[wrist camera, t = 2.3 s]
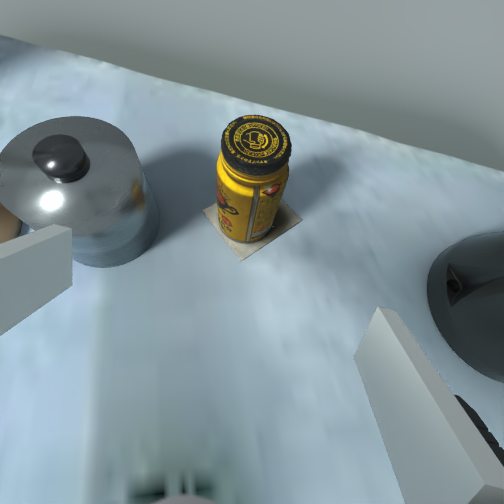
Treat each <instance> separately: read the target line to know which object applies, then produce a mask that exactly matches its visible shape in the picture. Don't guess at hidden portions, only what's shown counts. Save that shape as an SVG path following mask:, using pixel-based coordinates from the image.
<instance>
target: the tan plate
mask: <svg viewBox="0 0 504 504" xmlns="http://www.w3.org/2000/svg"><path fill="white" fill-rule="evenodd" d="M21 225H22V220H20V219H19V218H18V217H16V216H15V215H14V214H12V213H11V212H10V211H8V210H7V209H6V208H5V207H4V206H3V205H2V203H1V202H0V244H1V243H4V242H7V241H10V240H12V239H15V238H18V235H19V232H20V229H21Z"/></svg>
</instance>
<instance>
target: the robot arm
mask: <svg viewBox="0 0 504 504" xmlns="http://www.w3.org/2000/svg"><path fill="white" fill-rule="evenodd" d="M71 286H72V228H68V227H64V226H60V225H56V224H53V225H50V226H47V227H45V228H42V229H39V230H37V231H34V232H31V233H28V234H26V235H23V236H20V237H18V238H15V239H12V240H10V241H7V242H4V243H1V244H0V336H1V335H2V334H4V333H5V332H7V331H8V330H9V329H11V328H12V327H14V326H15V325H17V324H18V323H19V322H21V321H22V320H24V319H25V318H27V317H28V316H29V315H31V314H32V313H34V312H35V311H37V310H38V309H39V308H41V307H42V306H44V305H45V304H47V303H48V302H49V301H51V300H52V299H54V298H55V297H57V296H58V295H59V294H61V293H62V292H64V291H65V290H67V289H68V288H69V287H71ZM427 294H428V302H429V306H430V310H431V313H432V316H433V318H434V321H435V323H436V325H437V327H438V329H439V331H440V333H441V334H442V336H443V337H444V339H445V340H446V342H447V343H448V344H449V346H450V347H451V348H452V349H453V350H454V351H455V353H456V354H457V355H458V356H459V357H460V358H461V359H463V360H464V361H465V362H466V363H467V364H468V365H470V366H471V367H472V368H474V369H475V370H477V371H478V372H480V373H482V374H483V375H485V376H487V377H489V378H492V379H494V380H497V381H500V382H503V383H504V232H498V233H491V234H484V235H479V236H474V237H471V238H468V239H465V240H463V241H461V242H459V243H457V244H455V245H453V246H451V247H449V248H448V249H446V250H445V251H443V252H442V253H441V254H440V255H439V256H438V257H437V258H436V260H435V261H434V263H433V265H432V267H431V269H430V272H429V276H428V282H427ZM354 359H355V361H356V364H357V367H358V370H359V373H360V376H361V378H362V381H363V384H364V387H365V390H366V393H367V396H368V398H369V401H370V404H371V407H372V410H373V413H374V416H375V418H376V421H377V424H378V427H379V430H380V433H381V436H382V438H383V441H384V444H385V447H386V450H387V453H388V456H389V458H390V461H391V464H392V467H393V470H394V473H395V476H396V478H397V481H398V484H399V487H400V490H401V493H402V496H403V498H404V501H405V504H504V450H503V448H502V447H499V443H498V442H497V440H496V439H495V438H494V436H493V435H492V433H491V432H488V428H487V427H486V425H485V424H484V422H483V421H482V420H481V418H480V417H479V416H478V414H477V413H476V412H475V411H474V410H473V409H472V408H471V407H470V406H469V405H468V404H467V403H466V402H465V401H464V400H463V399H462V398H461V397H460V396H458V395H454V394H453V393H452V392H451V390H450V389H449V387H448V386H447V384H446V383H445V381H444V380H443V379H442V377H441V376H440V374H439V373H438V371H437V370H436V368H435V367H434V366H433V364H432V363H431V361H430V360H429V358H428V357H427V355H426V354H425V353H424V351H423V350H422V348H421V347H420V345H419V344H418V342H417V341H416V340H415V338H414V337H413V335H412V334H411V332H410V331H409V329H408V328H407V327H406V325H405V324H404V322H403V321H402V319H401V318H400V316H399V315H398V313H397V312H396V311H395V310H391V309H387V308H383V307H379V306H378V307H377V309H376V311H375V313H374V315H373V317H372V319H371V321H370V323H369V326H368V328H367V330H366V332H365V334H364V336H363V338H362V340H361V342H360V344H359V347H358V349H357V351H356V353H355V355H354Z"/></svg>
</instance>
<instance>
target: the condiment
mask: <svg viewBox="0 0 504 504" xmlns="http://www.w3.org/2000/svg"><path fill="white" fill-rule="evenodd" d="M291 146H292V145H291V142H290V137H289V134H288V132H287V131H286V130H285V129H284V128H283V127H282V125H281V124H279V123H278V122H276V121H275V120H273V119H271V118H268V117H265V116H260V115H245V116H242V117H239V118H237V119H235V120H234V121H232V122H231V123H229V124H228V126H227V128H226V129H225V130H224V131H223V134H222V139H221V152H220V155H219V158H218V161H217V170H216V172H217V173H216V174H217V202H216V203H215V204H213V205H211V206H209V207H208V208H206V209H203V210H202V211H203V212H204V214H205V215H206V216H207V218H208V219H209V220H210V221H211V223H212V224H213V226H214V227H215V228H216V229H217V231H218V232H219V233H220V235H221V236H222V237H223V239H224V240H225V241H226V242H227V244H228V245H229V246H230V247H231V249H232V250H233V251H234V252H235V254H236V255H237V256H238V257H239V259H240V260H241V261H242V260H243V259H245V258H246V257H248V256H249V255H251V254H252V253H254V252H256V251H257V250H258V249H260V248H262V247H263V246H265V245H266V244H267V243H269V242H270V241H272V240H273V239H275V238H276V237H277V236H279V235H280V234H282V233H283V232H285V231H287V230H288V229H289V228H291V227H292V226H294V225H295V224H297V223H298V222H300V221H301V219H300V218H299V217H298V215H296V214H295V213H294V212H293V211H292V209H291V208H290V207H289V206H288V205H287V204H286V203H285V202H284V201H283V200H282V198H281V197H282V194H283V191H284V189H285V186H286V183H287V180H288V177H289V166H288V162H289V157H290V156H291V154H290V153H291V150H292V149H291ZM272 226H274V227H272Z"/></svg>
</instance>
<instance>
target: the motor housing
mask: <svg viewBox="0 0 504 504" xmlns="http://www.w3.org/2000/svg"><path fill="white" fill-rule="evenodd" d="M0 202H1V203H2V205H3V206H4V207H5V208H6V209H7V210H8V211H10V212H11V213H12V214H14V215H15V216H16V217H18V218H19V219H20V220H22V221H23V222H24V223H26V224H27V225H28V226H30V227H31V228H33V229H34V230H35V231H37V230H39V229H42V228H45V227H47V226H50V225H53V224H56V225H60V226H64V227H68V228H72V258H73V259H74V260H76V261H77V262H79V263H81V264H84V265H87V266H91V267H98V268H107V267H114V266H119V265H122V264H125V263H127V262H130V261H132V260H133V259H135V258H137V257H138V256H140V255H141V254H142V253H143V252H144V251H146V250H147V249H148V247H149V246H150V245H151V244H152V242H153V241H154V239H155V237H156V235H157V232H158V229H159V224H160V216H159V211H158V207H157V205H156V202H155V200H154V197H153V195H152V192H151V190H150V187H149V184H148V182H147V179H146V177H145V174H144V172H143V169H142V166H141V164H140V161H139V159H138V156H137V154H136V151H135V149H134V146H133V144H132V142H131V141H130V140H129V138H128V137H127V136H126V135H125V134H124V133H123V132H122V131H121V130H120V129H118V128H117V127H115V126H113V125H112V124H110V123H107V122H105V121H102V120H99V119H95V118H90V117H82V116H70V117H61V118H55V119H51V120H47V121H44V122H41V123H38V124H36V125H34V126H32V127H30V128H28V129H26V130H25V131H23V132H21V133H20V134H19V135H17V136H16V137H15V138H14V139H12V140H11V141H10V142H9V143H8V144H7V145H6V147H5V148H4V149H3V150H2V152H1V153H0Z"/></svg>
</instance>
